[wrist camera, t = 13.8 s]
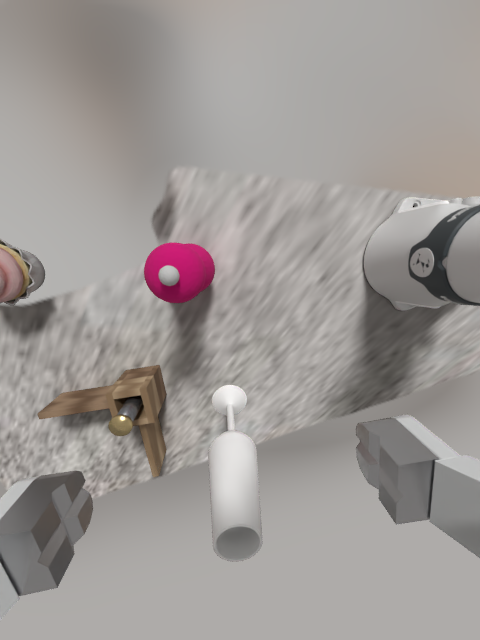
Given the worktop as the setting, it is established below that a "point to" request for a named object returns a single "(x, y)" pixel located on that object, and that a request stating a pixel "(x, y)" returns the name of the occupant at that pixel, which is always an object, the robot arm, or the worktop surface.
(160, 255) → the pepper mill
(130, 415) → the hinge pin
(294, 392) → the worktop surface
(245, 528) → the champagne flute
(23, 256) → the cupcake
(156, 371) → the hinge
